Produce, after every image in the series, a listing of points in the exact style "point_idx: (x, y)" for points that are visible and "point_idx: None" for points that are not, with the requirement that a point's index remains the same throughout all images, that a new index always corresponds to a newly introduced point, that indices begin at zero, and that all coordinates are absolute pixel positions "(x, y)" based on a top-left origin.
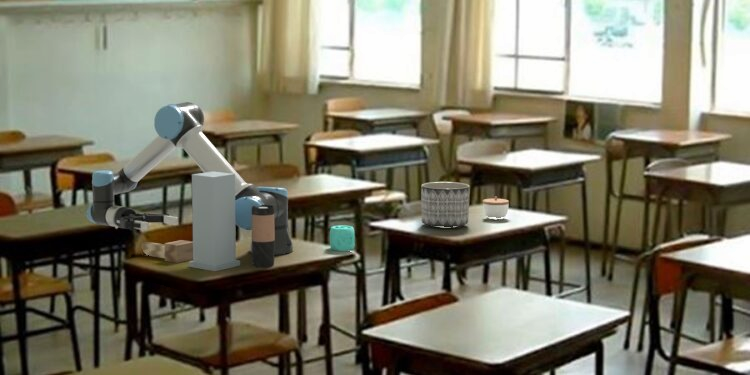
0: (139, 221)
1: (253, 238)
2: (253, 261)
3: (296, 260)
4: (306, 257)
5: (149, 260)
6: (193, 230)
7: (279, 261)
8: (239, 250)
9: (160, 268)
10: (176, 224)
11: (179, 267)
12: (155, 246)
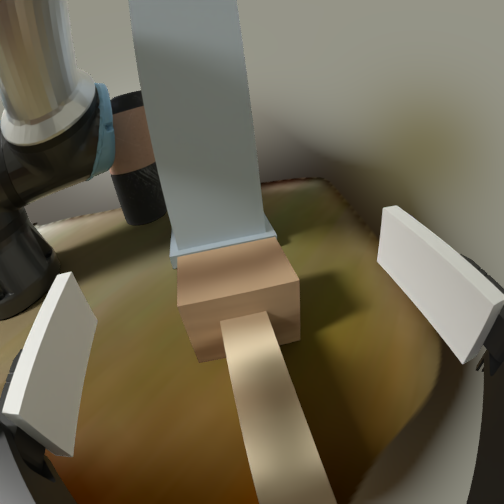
0: (457, 255)
1: (153, 156)
2: (162, 204)
3: (84, 224)
4: (57, 233)
5: (359, 367)
6: (254, 139)
7: (102, 226)
8: (25, 329)
9: (362, 257)
10: (95, 317)
11: (306, 249)
12: (297, 401)
